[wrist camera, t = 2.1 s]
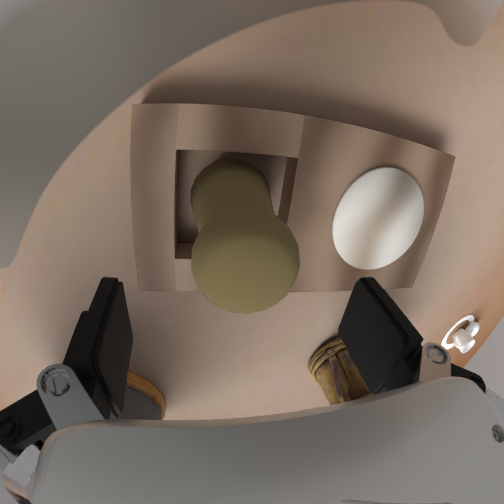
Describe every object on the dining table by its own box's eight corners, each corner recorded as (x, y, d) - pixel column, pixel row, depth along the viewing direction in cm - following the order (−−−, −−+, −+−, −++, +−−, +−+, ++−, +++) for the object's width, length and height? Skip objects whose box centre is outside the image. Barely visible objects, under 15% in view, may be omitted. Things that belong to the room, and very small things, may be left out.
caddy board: (438, 150, 22) (458, 158, 19) (399, 274, 29) (413, 289, 26) (140, 103, 17) (130, 104, 15) (144, 272, 24) (138, 293, 21)
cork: (255, 240, 24) (288, 337, 14) (182, 225, 22) (170, 322, 13) (279, 171, 21) (339, 235, 12) (201, 150, 20) (196, 200, 10)
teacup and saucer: (478, 317, 39) (490, 331, 36) (452, 349, 42) (463, 364, 39) (462, 309, 36) (476, 325, 33) (433, 345, 39) (444, 362, 36)
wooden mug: (341, 299, 29) (423, 450, 13) (380, 349, 35) (438, 456, 20) (273, 345, 31) (317, 499, 15) (327, 383, 37) (369, 492, 22)
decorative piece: (87, 343, 27) (57, 602, 1) (188, 401, 34) (209, 607, 9) (45, 384, 30) (17, 561, 5) (127, 428, 38) (128, 586, 12)
